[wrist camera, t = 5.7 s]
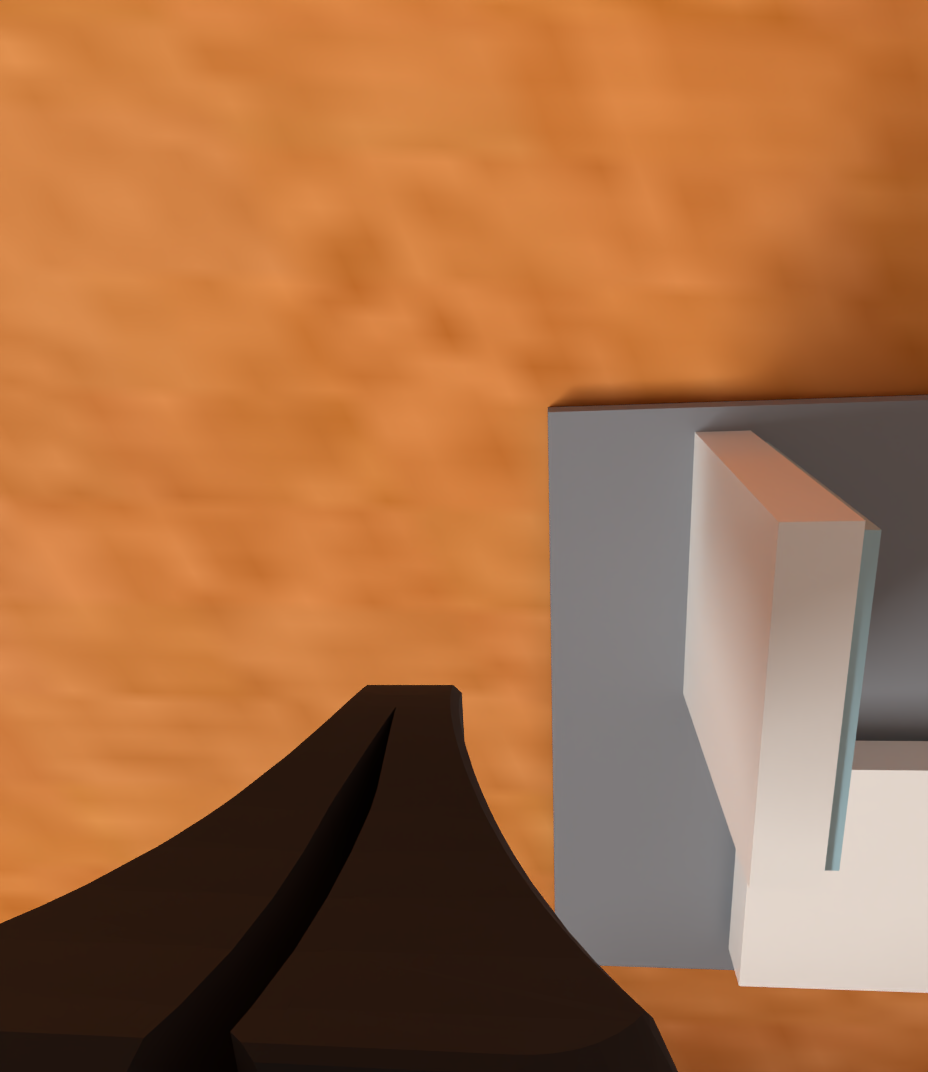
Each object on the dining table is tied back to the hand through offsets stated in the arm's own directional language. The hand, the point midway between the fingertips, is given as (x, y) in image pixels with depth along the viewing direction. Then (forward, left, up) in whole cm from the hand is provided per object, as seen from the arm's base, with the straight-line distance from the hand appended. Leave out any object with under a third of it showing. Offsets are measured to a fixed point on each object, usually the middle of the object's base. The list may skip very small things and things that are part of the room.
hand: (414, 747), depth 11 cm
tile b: (0, -5, -7) cm, 9 cm away
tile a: (-7, -6, -6) cm, 11 cm away
